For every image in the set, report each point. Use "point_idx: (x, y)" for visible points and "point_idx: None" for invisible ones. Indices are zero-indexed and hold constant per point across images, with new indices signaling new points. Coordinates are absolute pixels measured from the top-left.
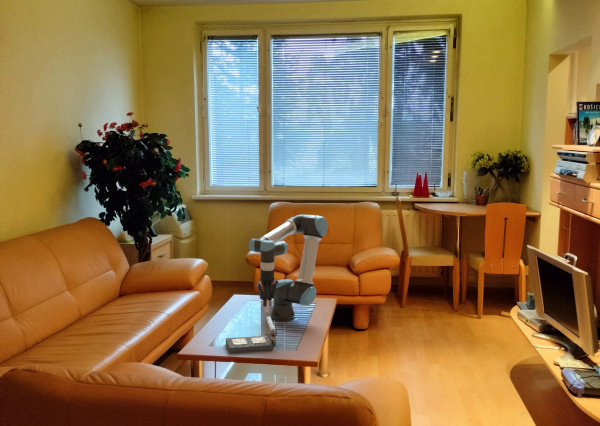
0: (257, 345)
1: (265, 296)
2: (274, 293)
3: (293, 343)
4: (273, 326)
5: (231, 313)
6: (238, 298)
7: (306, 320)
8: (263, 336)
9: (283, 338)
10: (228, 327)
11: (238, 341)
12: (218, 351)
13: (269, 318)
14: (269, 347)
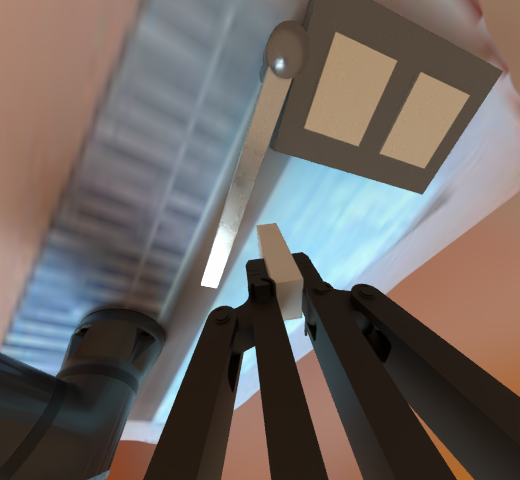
0: (394, 23)
1: (352, 324)
2: (190, 376)
3: (161, 52)
4: (250, 139)
5: (253, 375)
6: None
7: (34, 294)
8: (294, 146)
9: (188, 149)
10: None
11: (426, 126)
12: (473, 130)
13: (215, 263)
14: None
